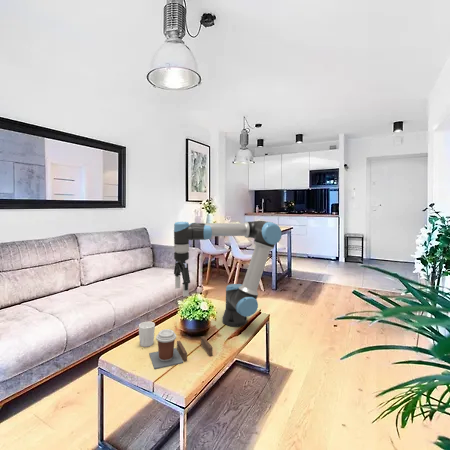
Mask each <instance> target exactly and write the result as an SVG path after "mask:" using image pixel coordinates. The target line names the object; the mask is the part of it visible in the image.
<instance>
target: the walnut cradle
mask: <svg viewBox="0 0 450 450" xmlns="http://www.w3.org/2000/svg"><path fill="white" fill-rule="evenodd" d="M200 345H201V347H202V348H203V349H204V351H205V352H206V354H207V356H208V357H212V356H213V349H214V347H213V346H212V345H211V344H210V342H209V341H208V340H207V338H206V337H205V336H200ZM176 349H177V351H178V353H179V354H180V356H181V358H182V360H183V363H184V362H188V352H187V350H186V348H185V346H184V344H183V343H182V341H181V340H177V341H176Z"/></svg>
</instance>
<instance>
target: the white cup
mask: <svg viewBox="0 0 450 450" xmlns="http://www.w3.org/2000/svg"><path fill="white" fill-rule="evenodd" d="M138 324H139V325H138V337H139V338H138V339H139V345H140V347H143V348H146V347H147V348H148V347H151V346H153V345H154V341H155V340H154V339H155V326H156V323H155V322H154V321H143V322H140V323H138Z"/></svg>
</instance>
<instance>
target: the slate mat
mask: <svg viewBox="0 0 450 450" xmlns="http://www.w3.org/2000/svg"><path fill="white" fill-rule="evenodd" d="M148 354H149V357H150V360H151V364H152V366H153V369H154V370H157V369H161V368H167V367H172V366H177V365H180V364H181V365H182V364H184V362H183V360H182V358H181V356H180V354H179V352H178V350H177V347H174V351H173V358H172V359H171V360H169V361H161V360H160V359H159V351H153V352H149V353H148Z"/></svg>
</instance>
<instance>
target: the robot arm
mask: <svg viewBox="0 0 450 450" xmlns="http://www.w3.org/2000/svg"><path fill="white" fill-rule="evenodd" d="M212 237H244V238H245V239H247V238H250V239H254V240H253V243H254V245H255V246H254V248H253V252H252V255H251V258H250V260H249V264H248V266H247V270H246V273H245V276H244V278H243V282H242V284H241V283H232V284H231V283H230V284H228V285H226V287H225V310H224V311H223V315H222V317H221V319H222V323H223V324H224V325H226V326H228V327H234V328H237V327H243V326H245V325H246V324H247V323H248V318H247V317H250V316H252V315H254V314H255V313H256V312H257V311H258V308H259V303H258V300H257V299H258V297H259V293H258V289H259V288H258V287H259V284H260V281H261V278H262V276H263V273H264V270H265V266H266V264H267V261H268V257H269V255H270V252H271V250H273V249H274V248H275V245H276V244H278V243H279V242H280V241H281V239H282V230H281V227H280V226H279V225H278V224H277V223H275V222H271V221H265V220H256V221H255V220H254V221H245V222H244V223H243V222H242V223H241V222H240V223H236V222H235V223H233V222H231V223H230V222H229V223H227V222H226V223H225V222H224V223H221V222H213V223H212V222H211V223H210V222H209V223H208V222H206V223H205V222H204V223H202V222H201V223H198V222H191V223H189V221H177V222H176V221H175V223H174V226H173V246H172V248H173V251H174V253H173V259H174V260H175V261H174V262H175V264H174V268H173V275H174V279H175V280H174V285H175V286H174V289H181V279H182V297H183V298H184V297H189V295H190V294H189V293H190V292H189V290H190V288H189V284H191V279H190V270H189V263H187V262H186V261H188V260H189V258H190V253H189V251H190V241H197V240H198V241H201V240H202V241H206V240H211V239H212ZM181 277H182V278H181Z"/></svg>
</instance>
